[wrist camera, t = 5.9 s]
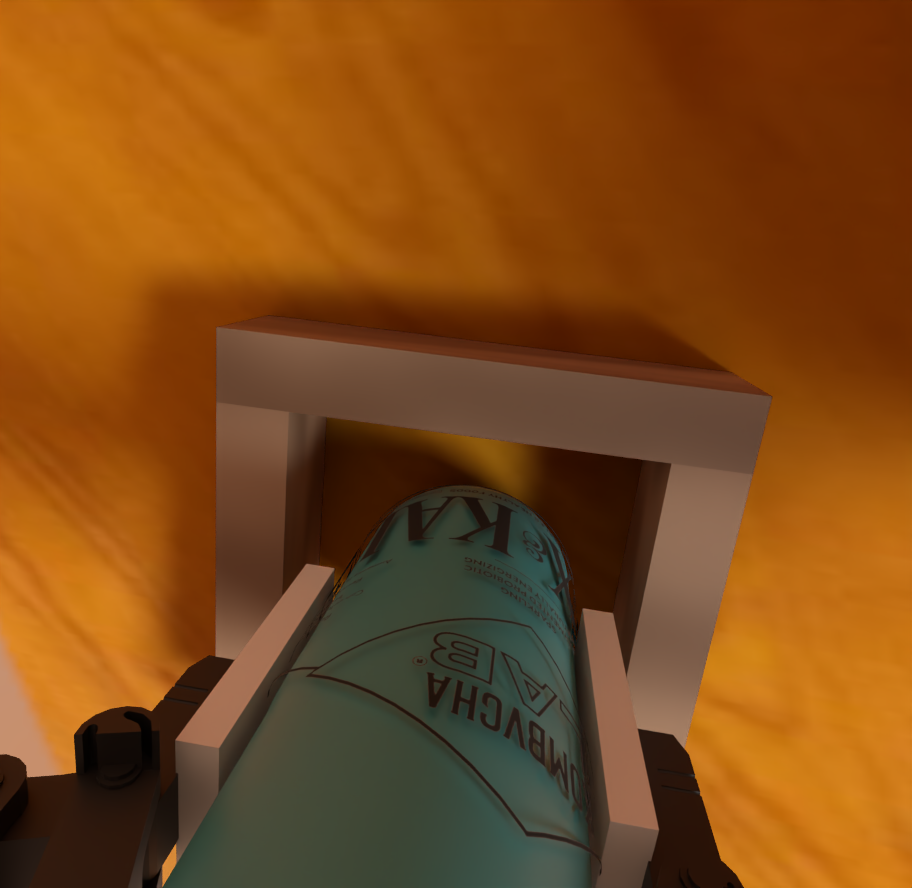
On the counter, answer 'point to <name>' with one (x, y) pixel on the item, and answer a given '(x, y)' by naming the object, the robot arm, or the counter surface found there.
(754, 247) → the counter surface
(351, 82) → the counter surface
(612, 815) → the robot arm
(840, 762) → the counter surface
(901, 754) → the counter surface
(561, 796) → the beverage bottle
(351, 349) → the holder
